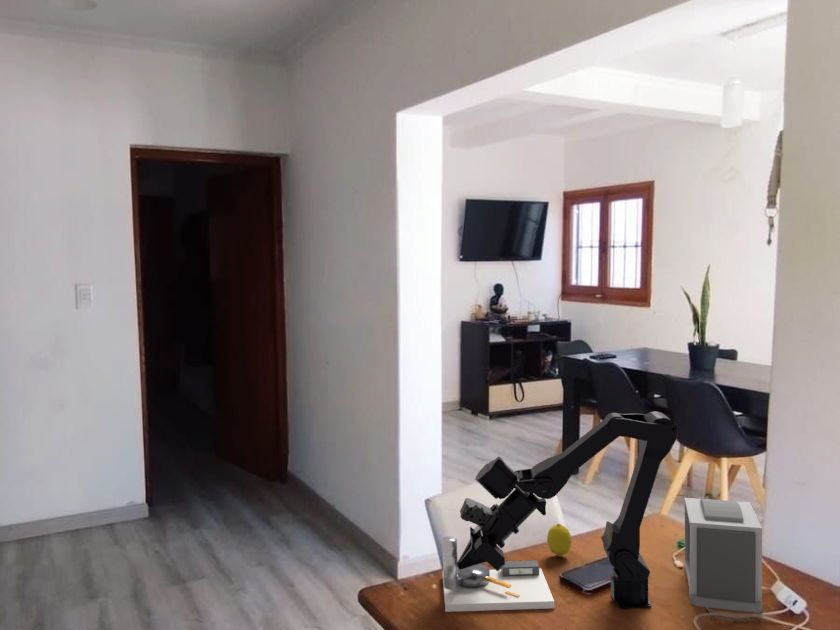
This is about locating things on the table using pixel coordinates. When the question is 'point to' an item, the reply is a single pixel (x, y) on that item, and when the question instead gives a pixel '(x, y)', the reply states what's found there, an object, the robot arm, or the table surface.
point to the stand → (504, 591)
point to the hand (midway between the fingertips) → (458, 566)
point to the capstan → (463, 570)
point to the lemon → (559, 540)
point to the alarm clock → (723, 554)
